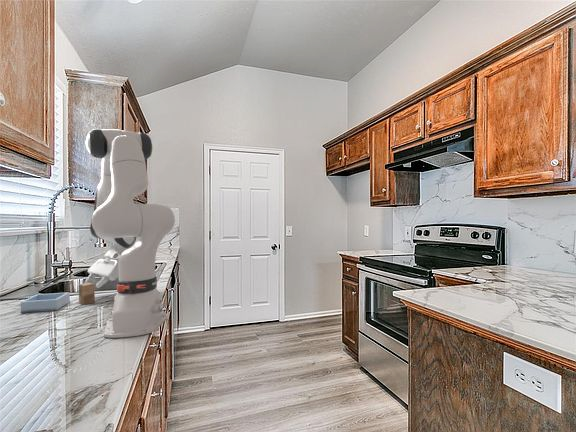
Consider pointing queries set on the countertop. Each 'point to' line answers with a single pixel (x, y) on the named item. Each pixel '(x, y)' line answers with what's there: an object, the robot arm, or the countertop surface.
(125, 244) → the robot arm
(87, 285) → the block
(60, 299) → the box
